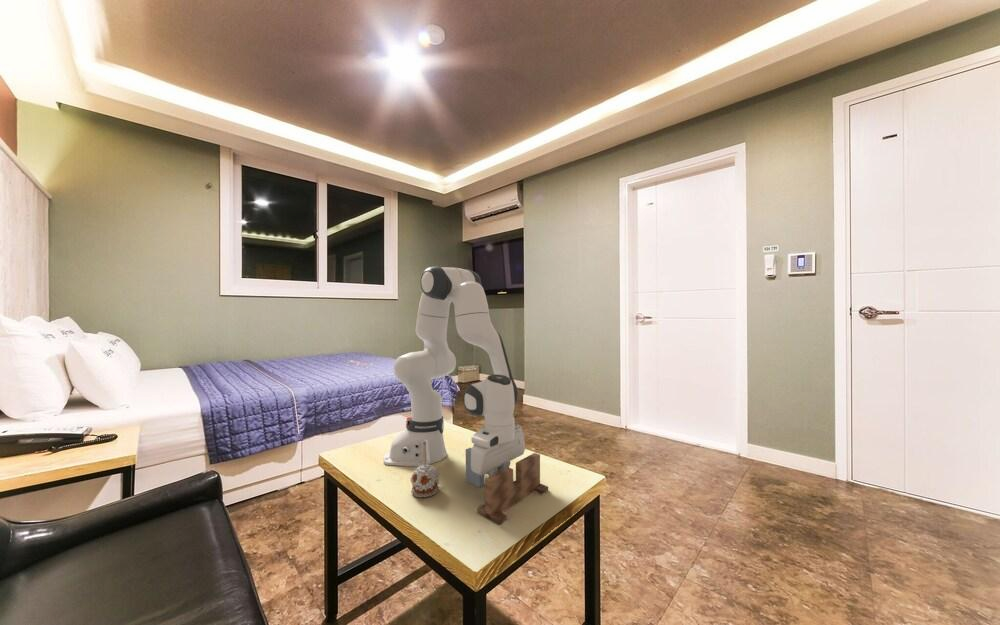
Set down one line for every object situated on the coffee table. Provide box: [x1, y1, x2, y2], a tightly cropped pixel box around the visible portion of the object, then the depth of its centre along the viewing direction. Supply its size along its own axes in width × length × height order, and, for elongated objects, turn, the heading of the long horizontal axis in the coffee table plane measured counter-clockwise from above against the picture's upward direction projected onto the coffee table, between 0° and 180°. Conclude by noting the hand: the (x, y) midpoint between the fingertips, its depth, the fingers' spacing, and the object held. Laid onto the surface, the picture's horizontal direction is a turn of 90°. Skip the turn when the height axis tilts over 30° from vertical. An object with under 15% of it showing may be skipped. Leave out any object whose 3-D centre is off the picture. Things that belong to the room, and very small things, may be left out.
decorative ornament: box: [410, 442, 440, 498], centre depth 106 cm, size 8×8×15 cm
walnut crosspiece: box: [476, 452, 549, 526], centre depth 100 cm, size 22×8×10 cm, turn 139°
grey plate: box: [465, 447, 510, 488], centre depth 107 cm, size 16×2×10 cm, turn 49°
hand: (499, 478), depth 104 cm, fingers open, 2 cm apart
